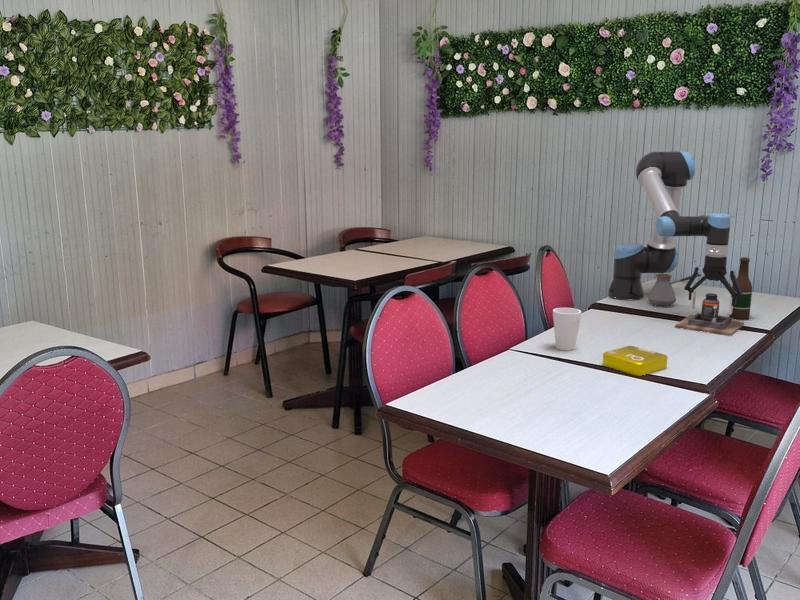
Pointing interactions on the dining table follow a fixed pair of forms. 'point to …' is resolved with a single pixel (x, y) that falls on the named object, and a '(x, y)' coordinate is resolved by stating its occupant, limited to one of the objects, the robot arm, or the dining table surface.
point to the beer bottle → (743, 301)
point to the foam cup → (566, 327)
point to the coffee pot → (664, 290)
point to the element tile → (635, 360)
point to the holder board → (710, 325)
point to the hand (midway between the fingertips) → (710, 311)
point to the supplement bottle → (710, 308)
